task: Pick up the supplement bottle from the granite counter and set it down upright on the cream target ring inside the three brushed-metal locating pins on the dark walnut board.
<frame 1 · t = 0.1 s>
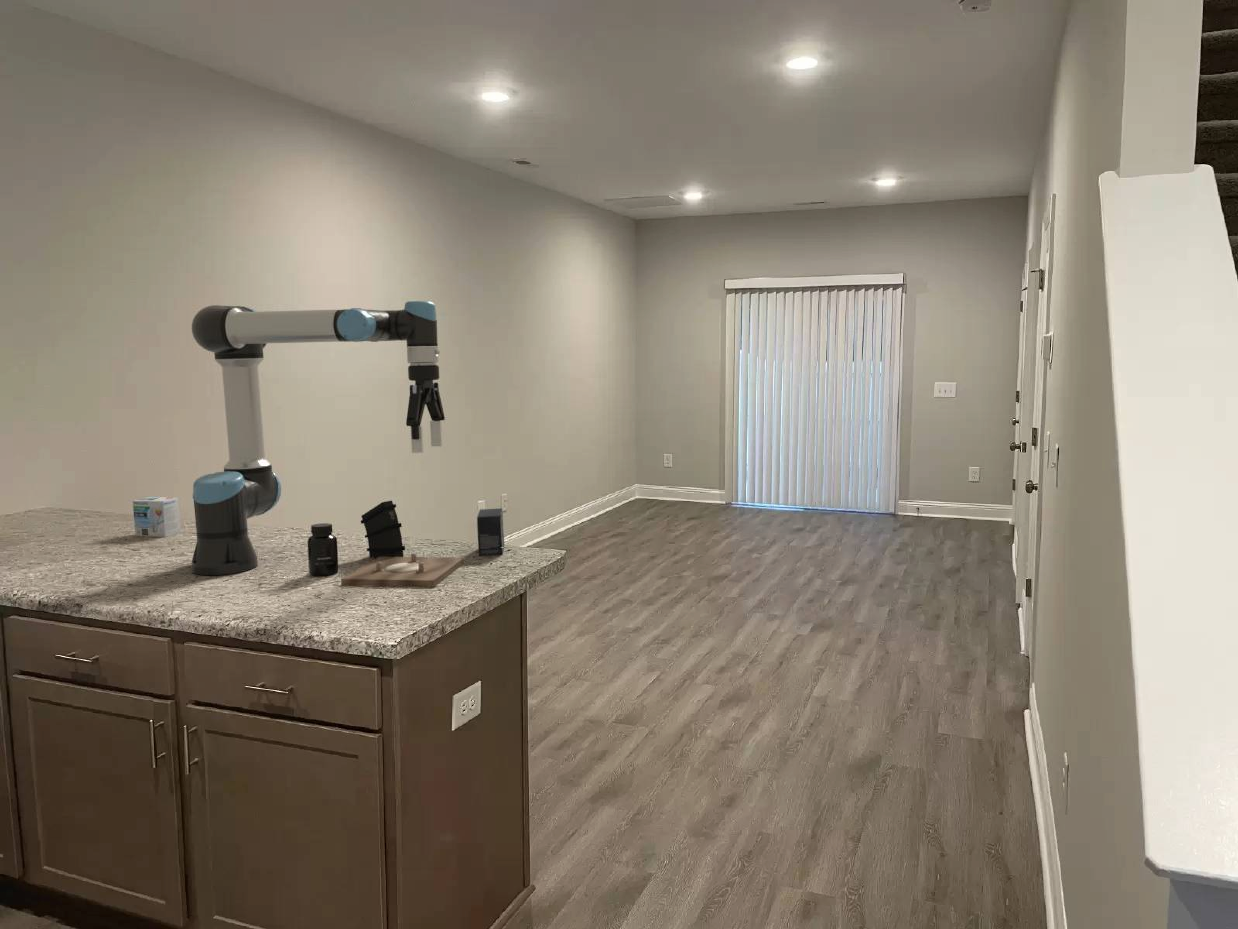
hand: (427, 449, 232), 28 cm above the worktop, fingers open, 13 cm apart
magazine: (383, 558, 238), on the worktop
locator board: (405, 574, 220), on the worktop
supplement bottle: (324, 574, 222), on the worktop
light bulb box: (158, 535, 275), on the worktop
small box: (491, 552, 243), on the worktop
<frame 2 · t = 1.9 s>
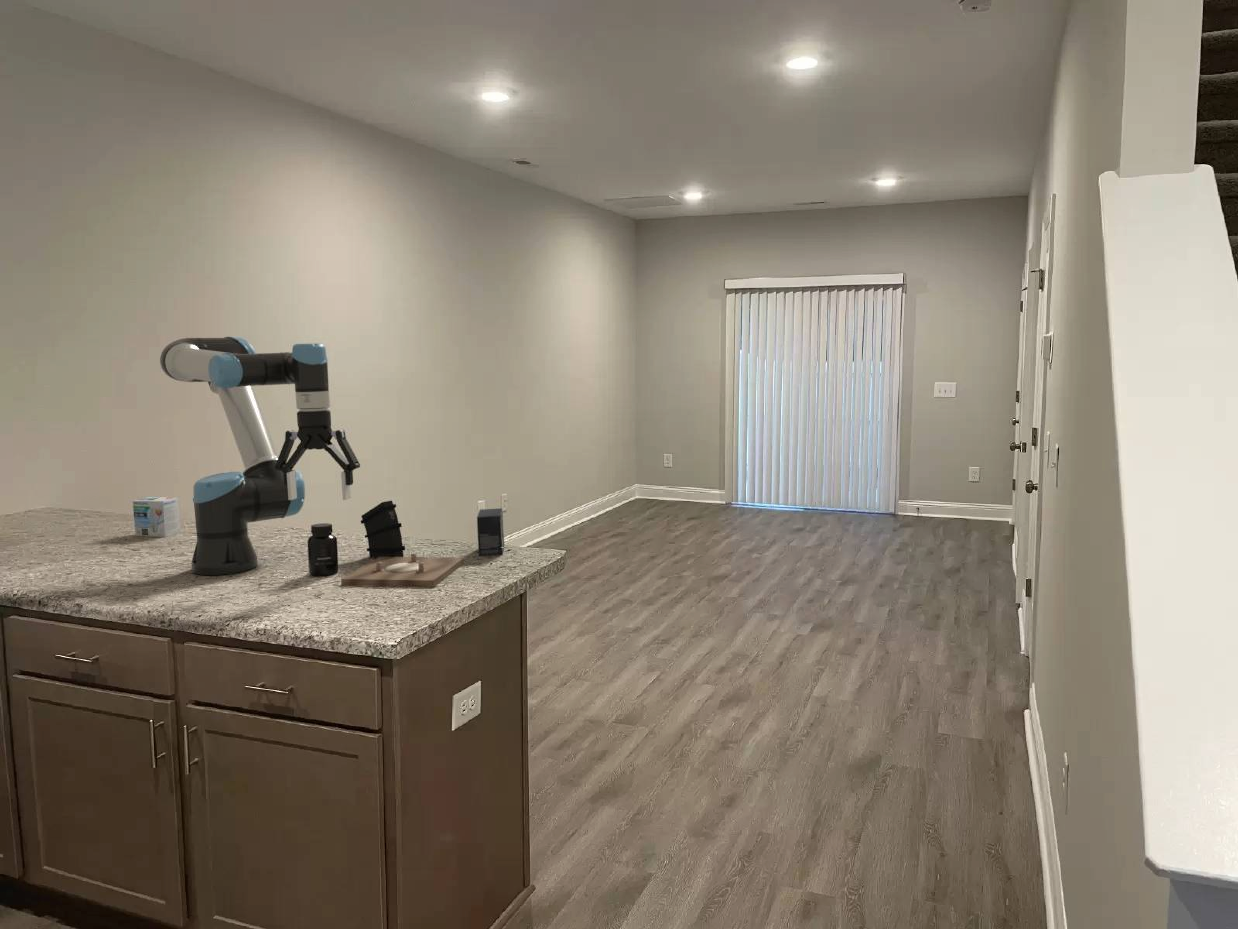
hand: (319, 499, 220), 18 cm above the worktop, fingers open, 13 cm apart
nothing on the worktop moved.
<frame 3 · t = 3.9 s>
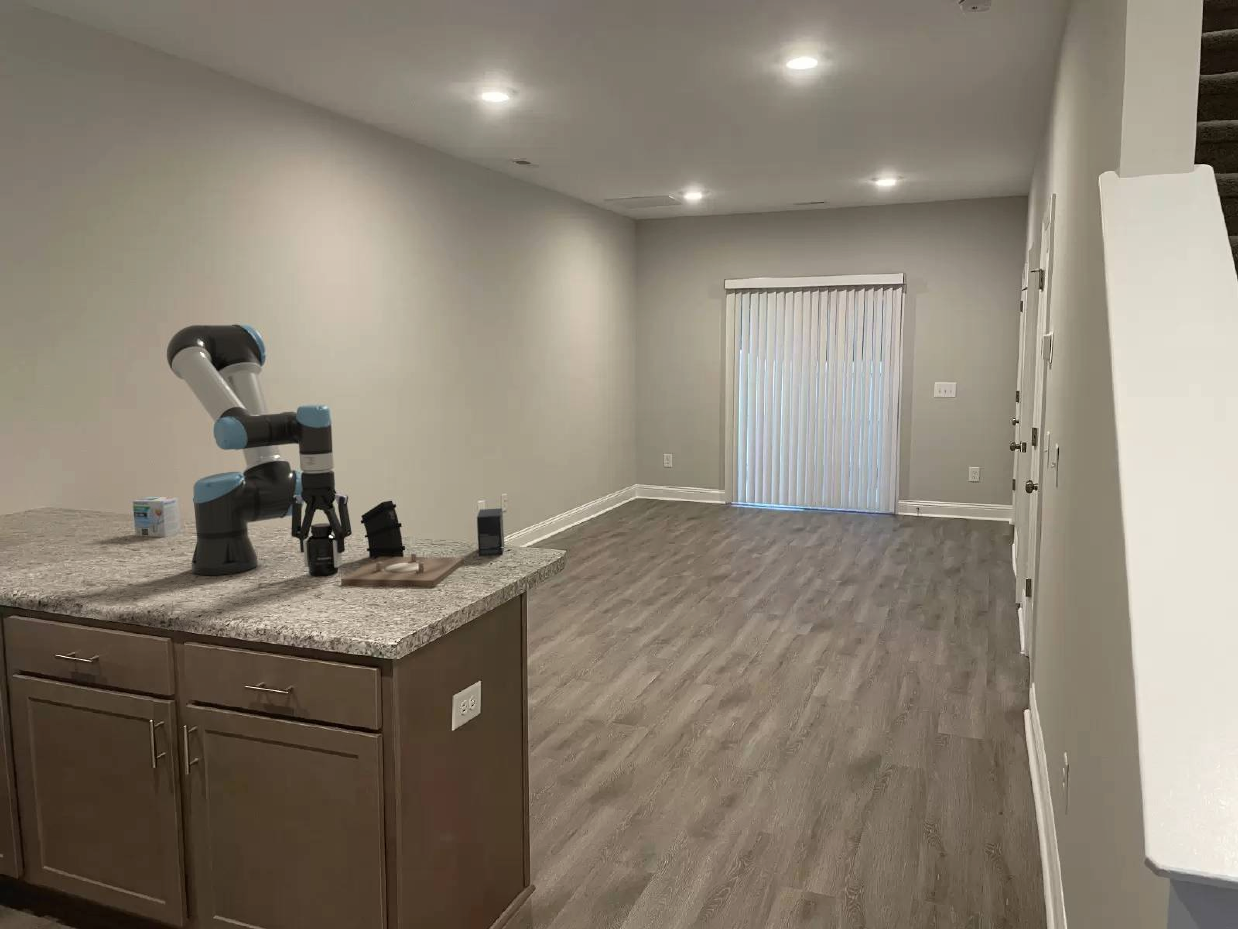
hand: (323, 565, 222), 2 cm above the worktop, fingers closed on supplement bottle, 7 cm apart
supplement bottle: (324, 574, 222), on the worktop, touching gripper
everything else where it was.
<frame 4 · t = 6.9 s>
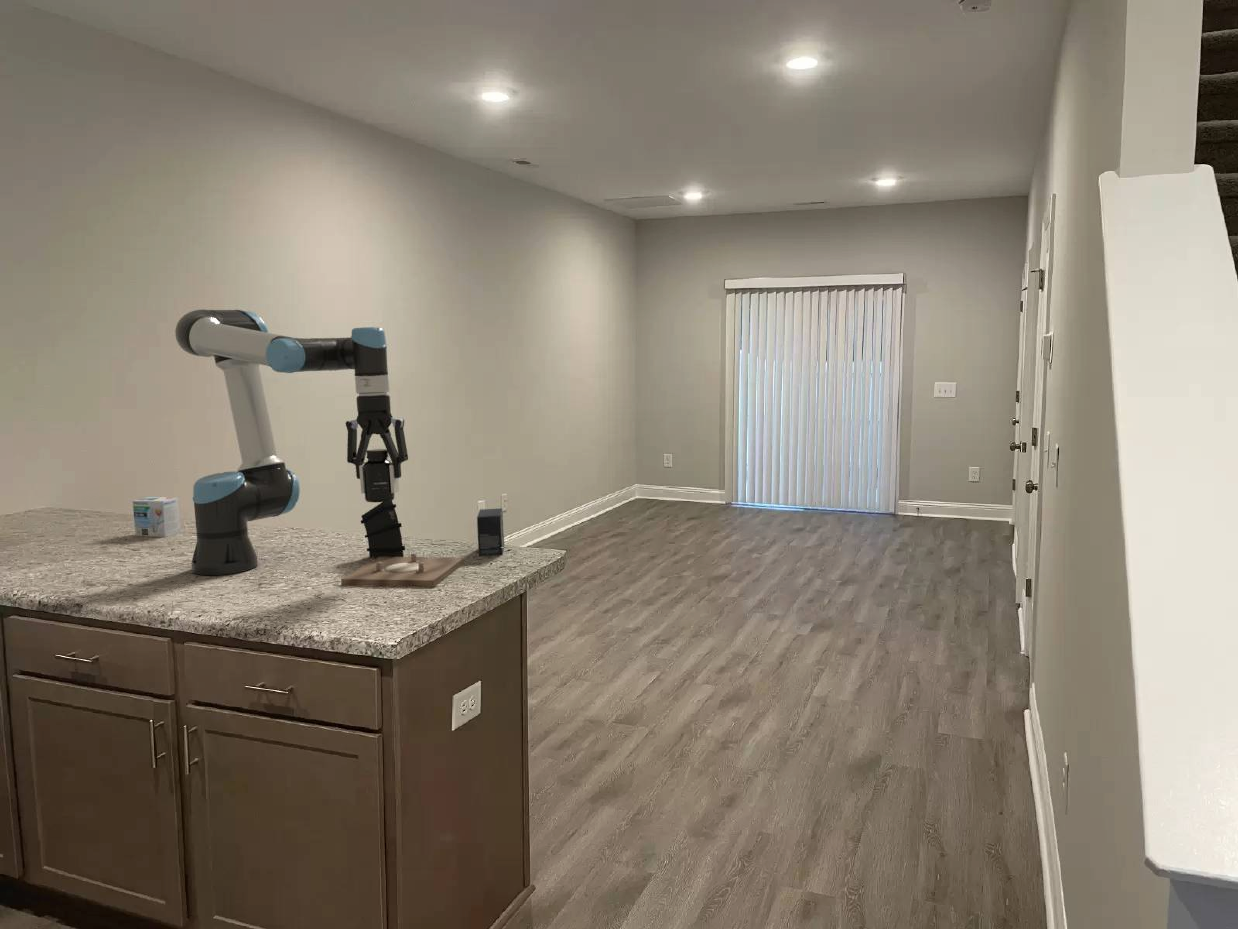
hand: (380, 492, 218), 20 cm above the worktop, fingers closed on supplement bottle, 7 cm apart
supplement bottle: (380, 501, 218), point 18 cm above the worktop, touching gripper
everything else where it was.
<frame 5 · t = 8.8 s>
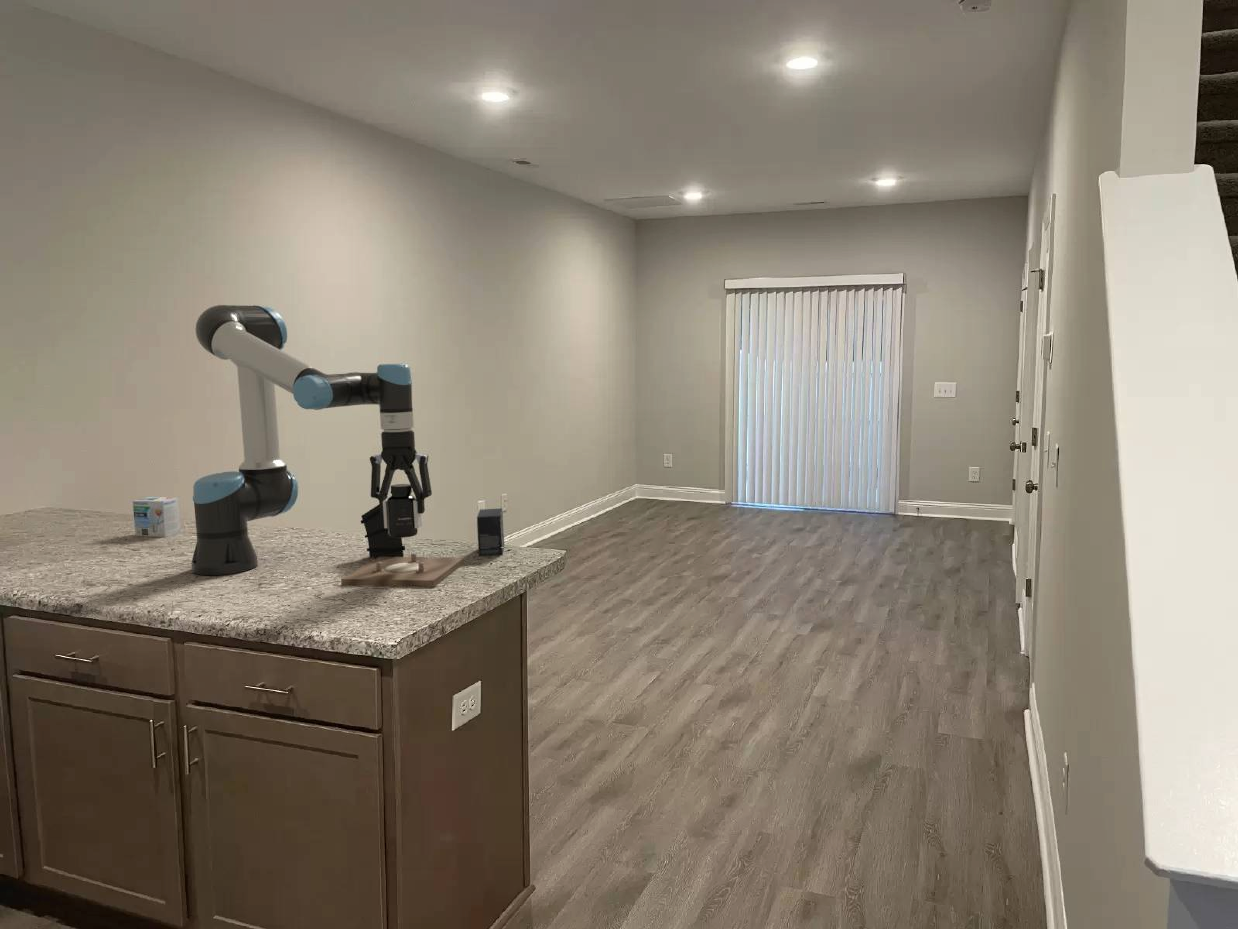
hand: (403, 526, 219), 11 cm above the worktop, fingers closed on supplement bottle, 7 cm apart
supplement bottle: (403, 536, 219), point 9 cm above the worktop, touching gripper
everything else where it was.
when the fingers open (5 cm above the worktop, at t = 10.3 s): supplement bottle drops 2 cm, resting on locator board.
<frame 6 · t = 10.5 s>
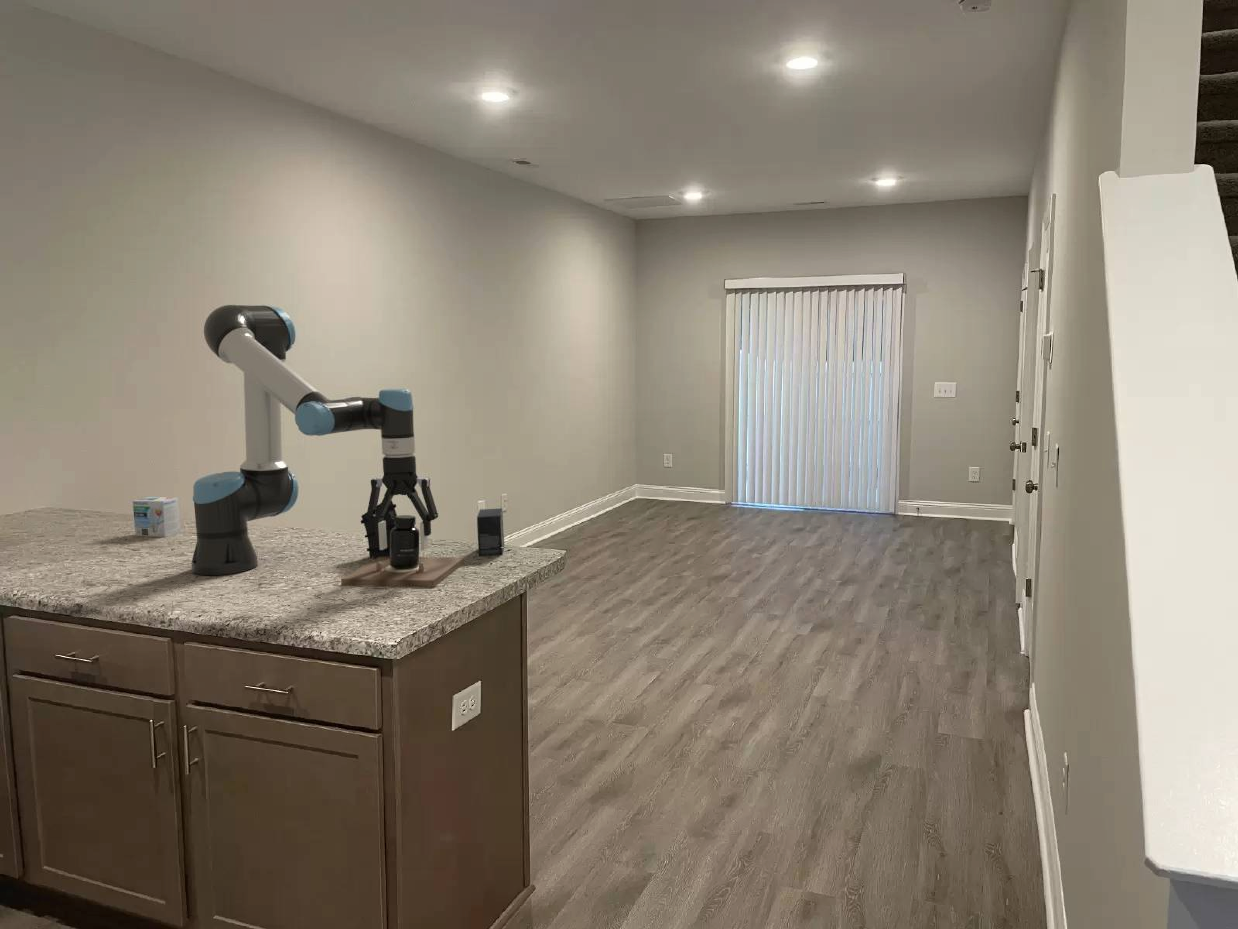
hand: (404, 549, 219), 6 cm above the worktop, fingers open, 9 cm apart
supplement bottle: (404, 567, 220), point 2 cm above the worktop, touching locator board
everything else where it was.
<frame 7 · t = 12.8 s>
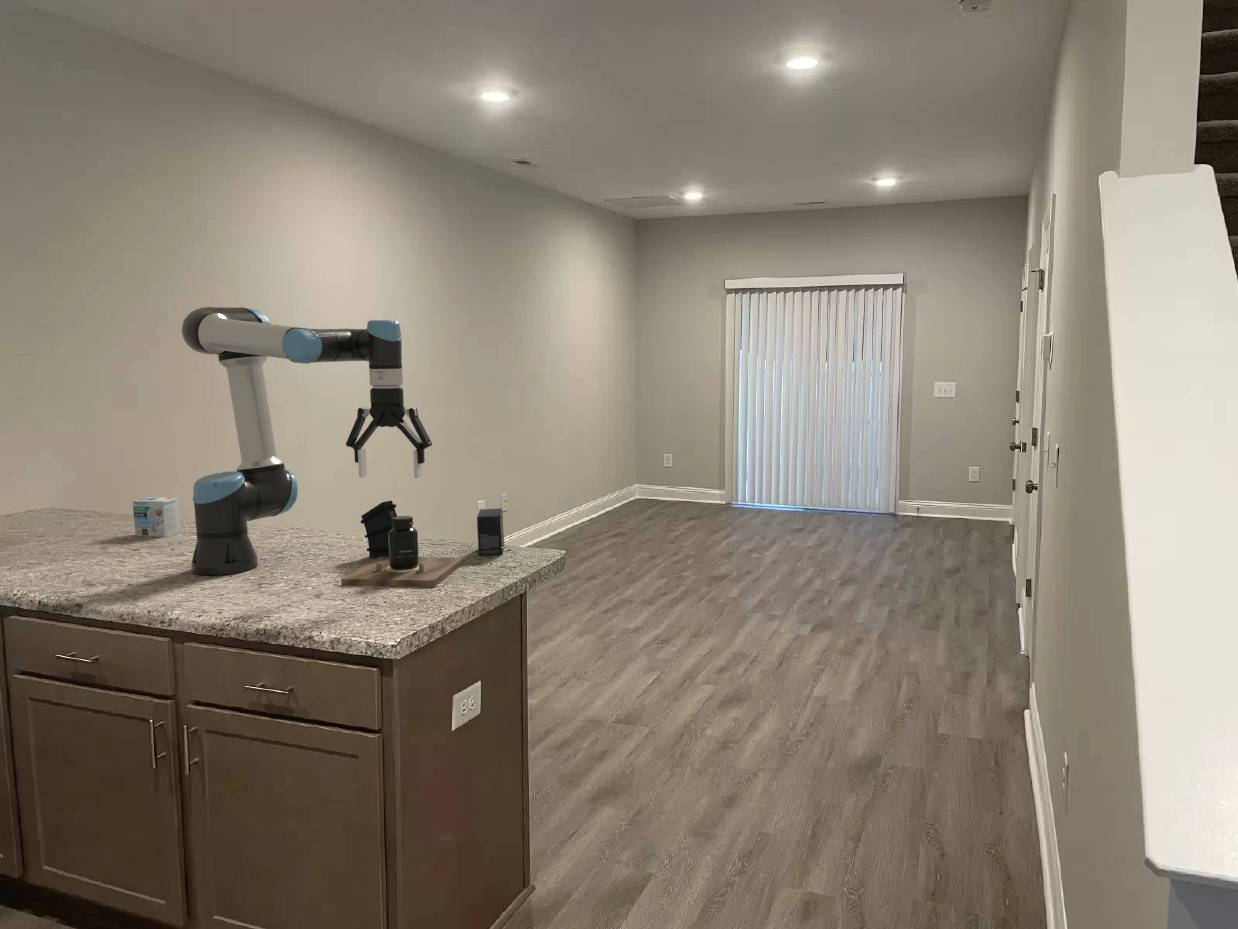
hand: (390, 477, 218), 23 cm above the worktop, fingers open, 13 cm apart
nothing on the worktop moved.
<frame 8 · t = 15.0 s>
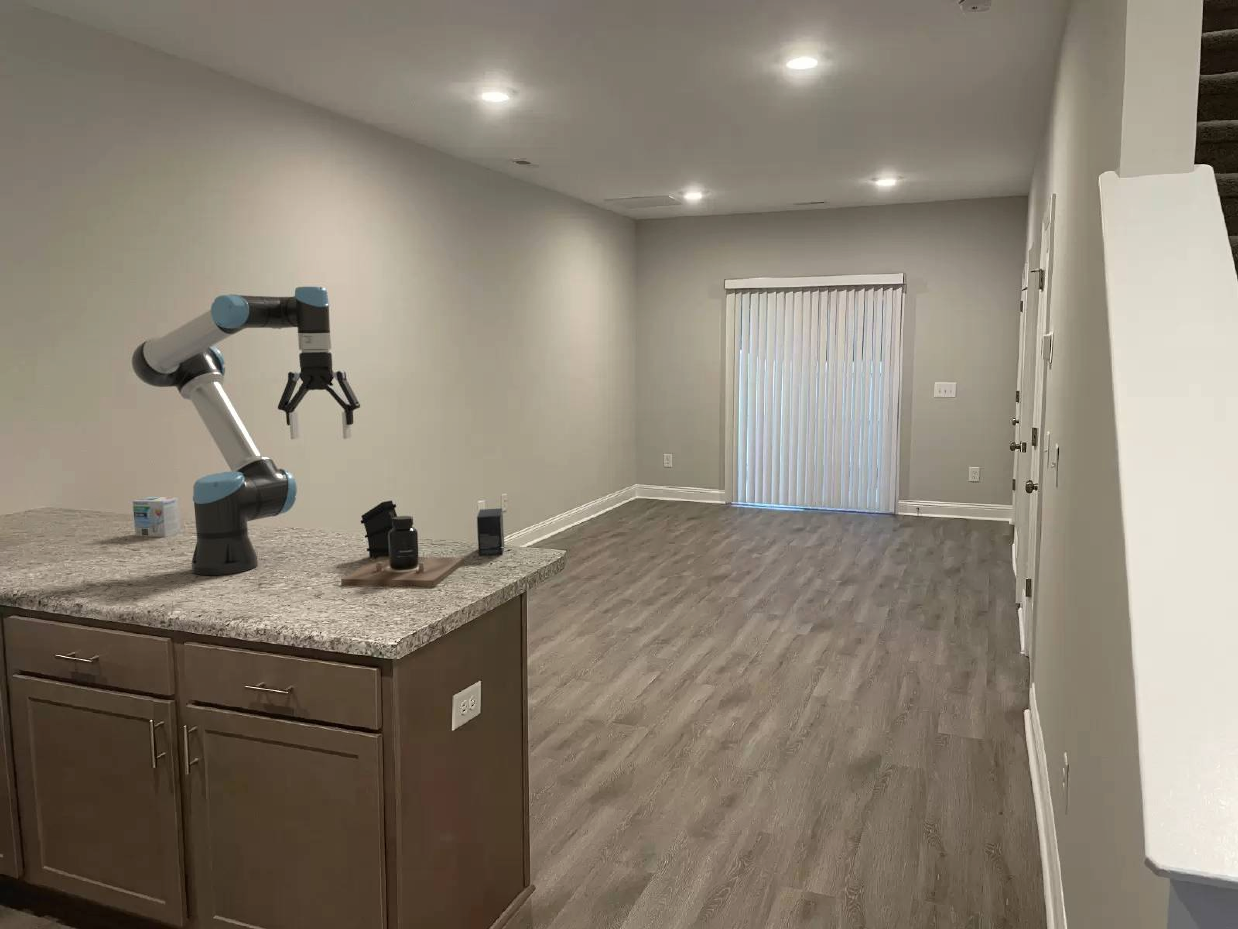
hand: (321, 438, 227), 32 cm above the worktop, fingers open, 13 cm apart
nothing on the worktop moved.
at the end: supplement bottle 0.1 cm off-centre on the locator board, point 1.5 cm above the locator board's base; supplement bottle tilted 0°; the gripper is holding nothing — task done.
